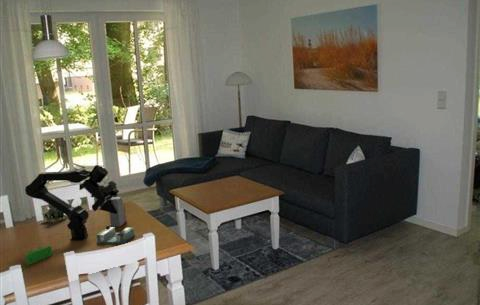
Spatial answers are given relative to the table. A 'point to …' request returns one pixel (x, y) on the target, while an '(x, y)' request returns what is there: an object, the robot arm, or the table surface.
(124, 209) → the beverage can
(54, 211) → the frog figurine
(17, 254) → the table surface
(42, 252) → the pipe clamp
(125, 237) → the striped teal board
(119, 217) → the steel bar
